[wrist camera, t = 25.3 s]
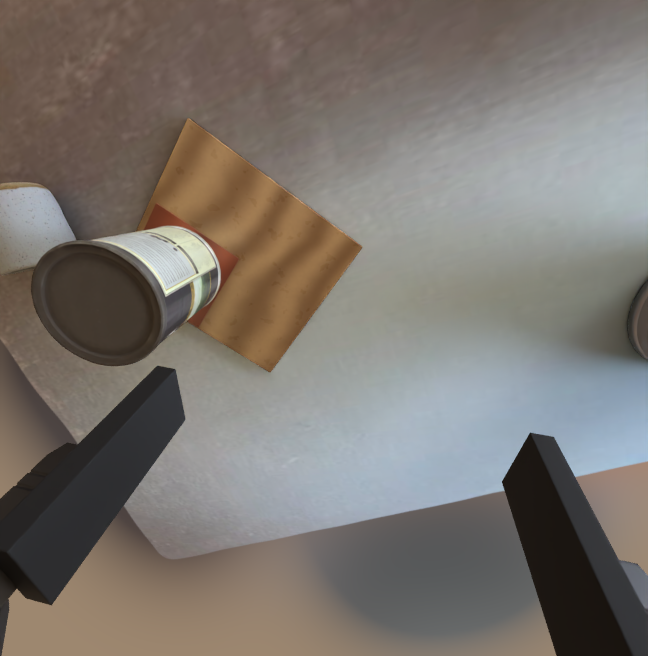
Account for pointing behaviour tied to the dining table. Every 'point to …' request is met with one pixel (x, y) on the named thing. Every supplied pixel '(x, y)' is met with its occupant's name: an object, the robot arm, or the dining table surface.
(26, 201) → the ceramic mug
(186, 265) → the coffee can
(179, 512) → the dining table surface
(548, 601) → the robot arm
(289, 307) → the placemat
